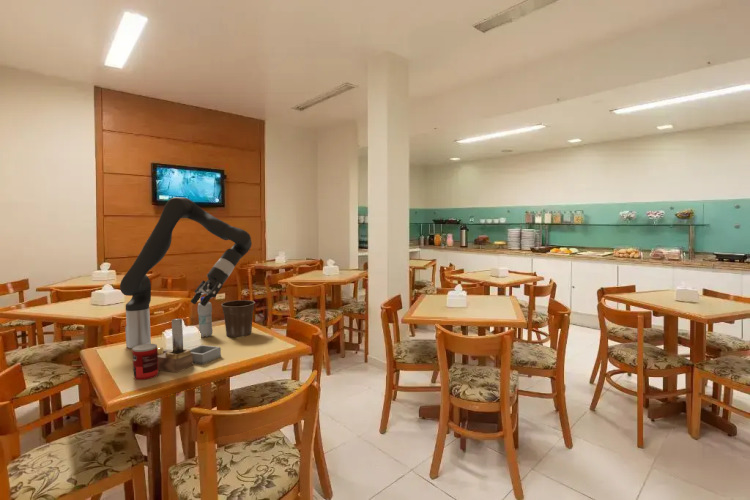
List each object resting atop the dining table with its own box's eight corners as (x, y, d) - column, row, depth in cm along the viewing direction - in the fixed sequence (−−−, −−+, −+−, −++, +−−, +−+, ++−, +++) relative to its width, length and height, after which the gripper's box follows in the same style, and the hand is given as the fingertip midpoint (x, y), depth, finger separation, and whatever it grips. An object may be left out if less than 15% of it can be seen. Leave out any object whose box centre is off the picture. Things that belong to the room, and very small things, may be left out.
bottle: (207, 338, 189) (206, 298, 188) (195, 337, 190) (193, 297, 189) (215, 334, 196) (214, 295, 194) (204, 334, 197) (202, 295, 196)
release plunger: (153, 363, 152) (152, 349, 152) (159, 360, 155) (159, 347, 155) (159, 363, 151) (158, 350, 151) (165, 361, 154) (164, 347, 154)
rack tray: (183, 361, 157) (183, 352, 156) (202, 353, 166) (201, 344, 166) (202, 364, 153) (202, 354, 153) (220, 356, 163) (220, 347, 162)
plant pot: (262, 333, 196) (261, 302, 196) (232, 341, 184) (231, 307, 183) (245, 328, 207) (244, 298, 206) (216, 335, 195) (215, 303, 194)
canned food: (140, 372, 145) (138, 343, 145) (162, 371, 146) (161, 343, 145) (129, 380, 138) (127, 350, 137) (152, 379, 138) (151, 349, 138)
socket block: (145, 367, 150) (144, 351, 150) (162, 360, 158) (161, 345, 157) (177, 372, 145) (176, 355, 144) (193, 365, 152) (193, 349, 152)
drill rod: (170, 356, 148) (169, 320, 147) (178, 353, 152) (177, 318, 151) (178, 357, 147) (176, 321, 146) (185, 354, 150) (184, 319, 149)
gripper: (206, 265, 165) (182, 297, 158) (222, 266, 156) (197, 300, 149) (219, 275, 170) (196, 307, 162) (236, 277, 161) (212, 310, 153)
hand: (197, 304), depth 155 cm, fingers open, 8 cm apart
